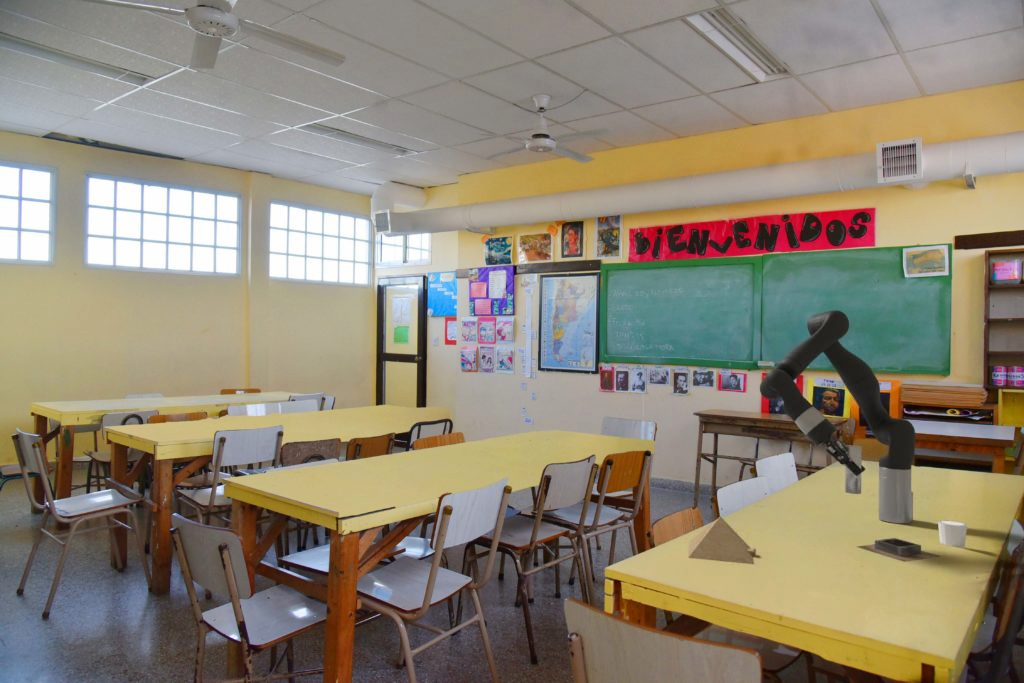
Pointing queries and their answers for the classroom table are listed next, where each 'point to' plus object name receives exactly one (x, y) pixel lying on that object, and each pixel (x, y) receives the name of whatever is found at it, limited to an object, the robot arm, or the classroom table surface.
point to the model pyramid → (721, 545)
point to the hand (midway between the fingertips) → (861, 472)
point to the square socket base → (898, 549)
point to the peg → (850, 478)
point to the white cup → (952, 533)
